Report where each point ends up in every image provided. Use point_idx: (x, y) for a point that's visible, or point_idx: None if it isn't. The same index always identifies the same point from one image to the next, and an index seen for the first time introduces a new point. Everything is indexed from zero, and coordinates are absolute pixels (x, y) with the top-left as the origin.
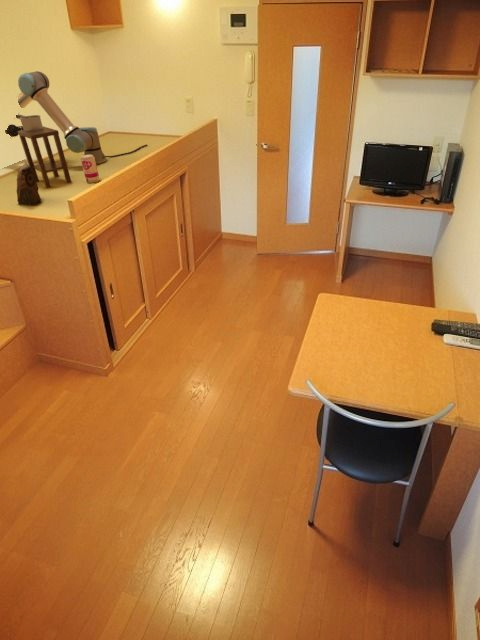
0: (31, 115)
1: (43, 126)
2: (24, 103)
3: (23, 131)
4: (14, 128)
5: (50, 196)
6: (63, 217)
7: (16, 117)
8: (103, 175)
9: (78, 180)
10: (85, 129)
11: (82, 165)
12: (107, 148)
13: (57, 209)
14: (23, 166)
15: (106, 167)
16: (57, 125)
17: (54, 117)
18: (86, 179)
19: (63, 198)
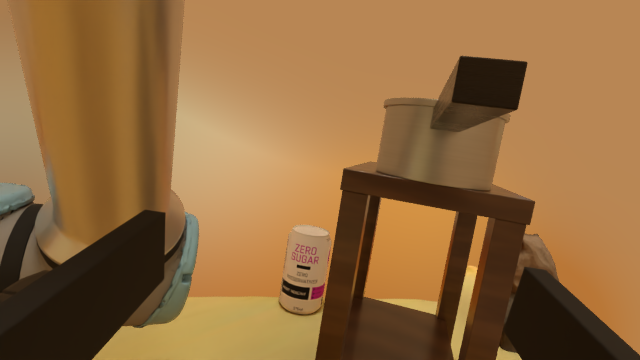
0: (415, 98)
1: (344, 168)
2: None
3: (496, 190)
4: (586, 313)
5: (459, 328)
6: (474, 273)
7: (516, 100)
8: (238, 304)
9: (315, 336)
10: (33, 195)
11: (327, 260)
12: None
13: (472, 288)
14: (533, 237)
15: (121, 331)
16: (156, 178)
17: (175, 114)
18: (321, 300)
19: (437, 303)
